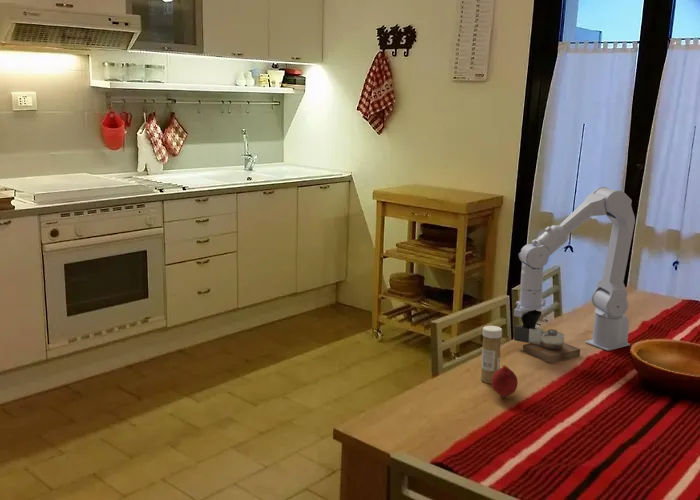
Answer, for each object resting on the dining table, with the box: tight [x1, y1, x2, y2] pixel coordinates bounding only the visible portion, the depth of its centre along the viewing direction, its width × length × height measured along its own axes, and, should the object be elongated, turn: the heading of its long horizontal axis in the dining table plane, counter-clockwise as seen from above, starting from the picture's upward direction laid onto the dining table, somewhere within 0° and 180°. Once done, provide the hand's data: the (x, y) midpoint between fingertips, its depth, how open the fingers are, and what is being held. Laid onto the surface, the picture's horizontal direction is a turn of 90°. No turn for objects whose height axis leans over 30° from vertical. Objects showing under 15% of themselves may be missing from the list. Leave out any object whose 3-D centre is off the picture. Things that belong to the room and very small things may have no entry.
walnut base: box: [522, 342, 581, 365], centre depth 187 cm, size 11×10×2 cm
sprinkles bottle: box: [480, 325, 503, 385], centre depth 167 cm, size 5×5×13 cm
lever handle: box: [513, 324, 565, 349], centre depth 188 cm, size 13×6×4 cm, turn 60°
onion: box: [490, 363, 518, 399], centre depth 158 cm, size 6×6×8 cm
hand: (528, 336), depth 191 cm, fingers closed, pressing on lever handle
